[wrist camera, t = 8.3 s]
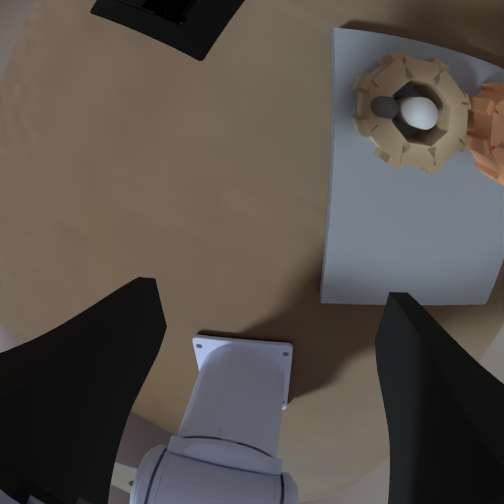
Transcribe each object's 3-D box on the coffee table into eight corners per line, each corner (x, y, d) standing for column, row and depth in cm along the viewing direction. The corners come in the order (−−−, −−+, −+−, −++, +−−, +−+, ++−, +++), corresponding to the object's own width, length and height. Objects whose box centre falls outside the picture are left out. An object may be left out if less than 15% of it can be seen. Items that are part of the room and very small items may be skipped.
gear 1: (442, 166, 14) (475, 187, 10) (348, 155, 14) (363, 173, 11) (448, 70, 11) (485, 67, 8) (350, 51, 12) (366, 37, 8)
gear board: (478, 292, 18) (502, 331, 15) (319, 289, 20) (322, 335, 16) (519, 80, 11) (562, 85, 7) (330, 33, 13) (342, 12, 9)
